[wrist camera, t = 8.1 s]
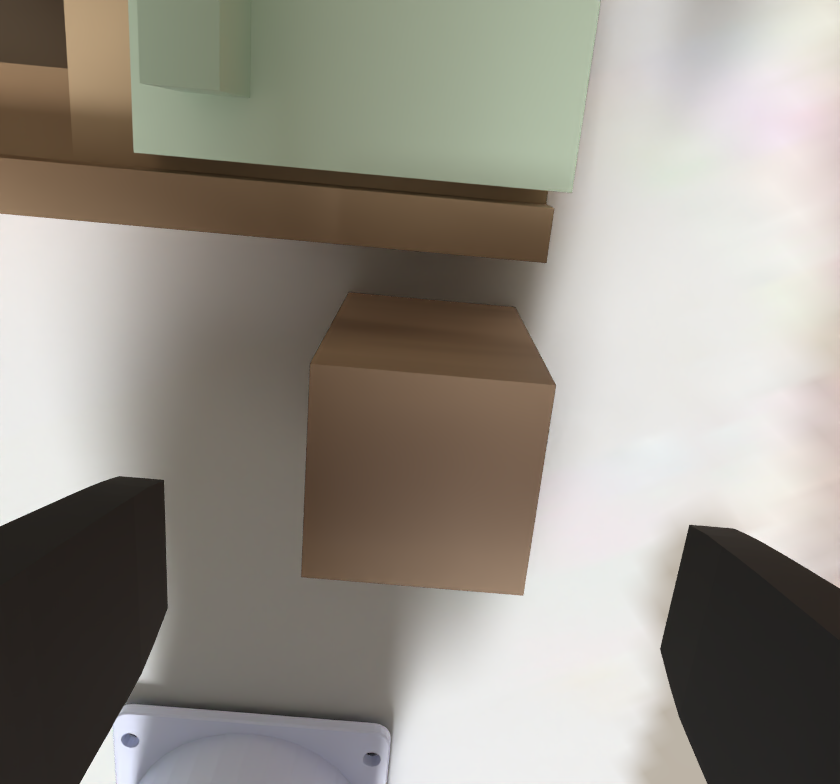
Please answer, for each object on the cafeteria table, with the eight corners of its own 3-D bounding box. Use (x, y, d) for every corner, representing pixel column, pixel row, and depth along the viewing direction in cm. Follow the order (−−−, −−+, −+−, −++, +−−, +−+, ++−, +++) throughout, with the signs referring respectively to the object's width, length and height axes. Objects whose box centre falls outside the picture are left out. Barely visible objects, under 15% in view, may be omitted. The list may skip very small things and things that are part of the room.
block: (494, 459, 19) (523, 595, 13) (340, 445, 19) (301, 577, 13) (514, 307, 18) (556, 385, 12) (348, 292, 17) (309, 363, 12)
